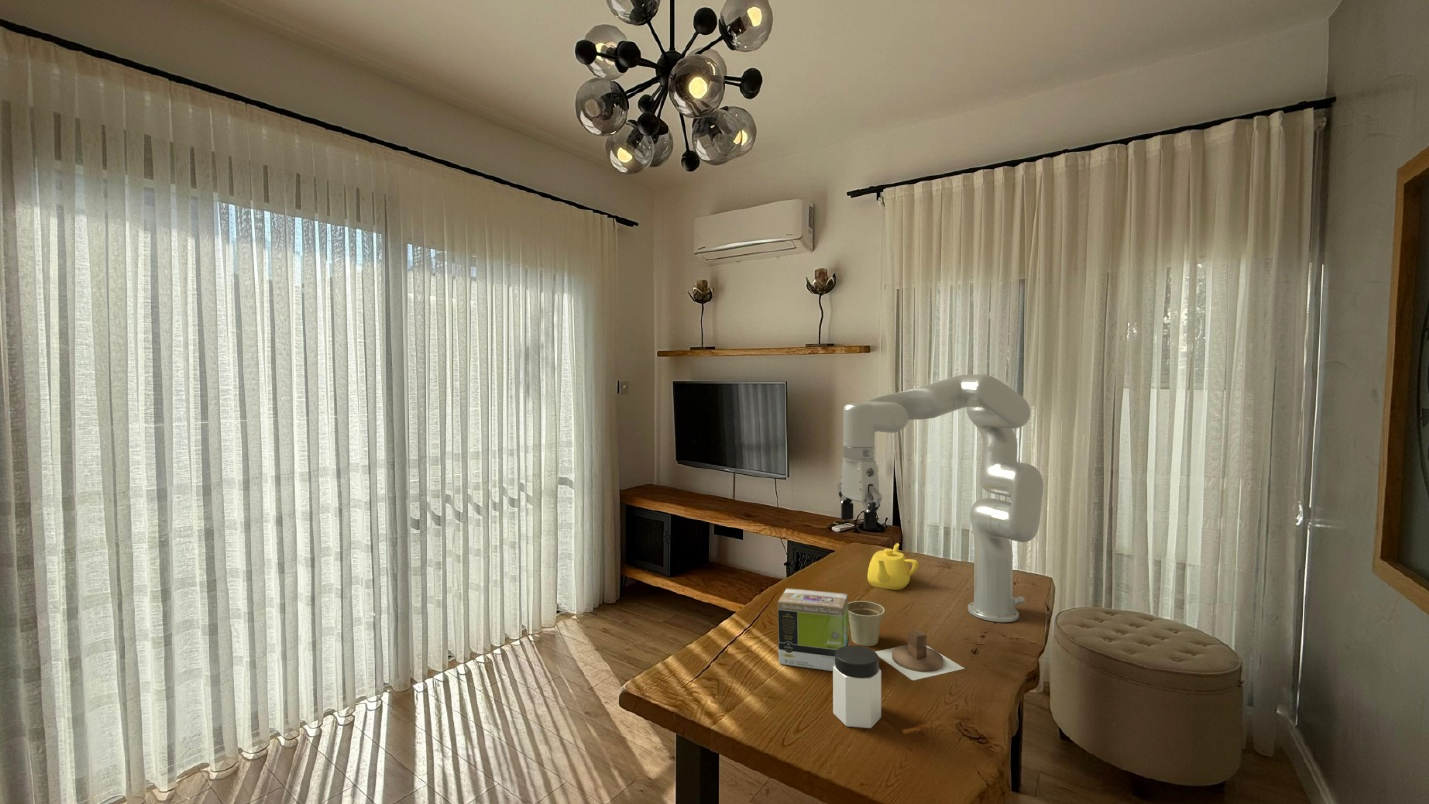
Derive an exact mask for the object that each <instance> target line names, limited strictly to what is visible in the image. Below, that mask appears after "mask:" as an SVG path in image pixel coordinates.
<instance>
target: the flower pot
mask: <svg viewBox="0 0 1429 804" xmlns="http://www.w3.org/2000/svg"><path fill="white" fill-rule="evenodd" d="M885 611H886V609H885V608H884V606H883V605H881V604H879V603H876V602H873V601H868V600H853V601H850V602H848V618H849V630H850V636H851V641H852V642H853V643H854V644H855V645H857V646H863V647H873V646H876V645H877V644H878V643H879V635H880V632H881V631H880V630H881V624H882V623H881V622H882V619H883V616H884V614H885Z"/></svg>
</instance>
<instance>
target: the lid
mask: <svg viewBox="0 0 1429 804" xmlns="http://www.w3.org/2000/svg"><path fill="white" fill-rule="evenodd" d="M907 632H908V633H907V635H908V636H907V637H908V638H907V644H903V645H898V646H896V648H895V647H893V648H894V649H893V651H892V659H893V661H894V662H895V663H896V664H898V665H899V666H901V667H903V668H906V669H909V670H913V671H918V672H932V671H936V670H939V669H941V668H942V666H943V657H942V656H941V653H940V652H938V651H936V650H935V649H933V648H932V649H930V648H931V647H930V648H927V646H928V645H927V642H928V639H927V638H928V637H927V634H926V633H925V632H922V631H921V630H920V629H917V630H910V631H907ZM939 653H940V654H939Z"/></svg>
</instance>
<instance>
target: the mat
mask: <svg viewBox="0 0 1429 804" xmlns="http://www.w3.org/2000/svg"><path fill="white" fill-rule="evenodd" d="M896 647H897V646H896ZM896 647H891V648H886V649H881V650H877V651H876V650H875V652H876V653H877V655H878V657H879V659H882V660H883V661H884V662H886V663H887V664H889V665H890V666H892V668H895V669H896V670H897V671H898V672H900V673H901V674H902V675H904V676H905V677H907V678H908V679H909V680H911V681H918V680H922V679H926V678H930V677H935V676H939V675H943V674H947V673H951V672H956V671H960V670H965V667H963V666H961V665H960V664H958V663H957V662H955V661H952V659H950V658H949V657H946V656H945V655H943V654H941V653H940V652H938V653H939V654H941V656H942V657H943V666H942V668H941V669H939V670H936V671H932V672H918V671H913V670H909V669H906V668H903V667H901V666H899V665H898V664H896V663H895V662H894V661H893V659H892V651H893V649H894V648H896ZM927 648H930V649H933V648H932V647H930V646H928V645H927Z"/></svg>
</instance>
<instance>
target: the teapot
mask: <svg viewBox="0 0 1429 804" xmlns="http://www.w3.org/2000/svg"><path fill="white" fill-rule="evenodd" d="M899 547H900V544H899V543H898V542H897V543H895V544H894V546H893V549H891V548H884V549H883V550H877V551H876V552H875V553H874V554H873V555H872V557H871V559H870V561H869V566H868V568H867V576H866V577H867V581H868V583H869V585H870V586H872V587H873V588H874V587H876V588H879V589H883V590H891V591H900V590H902V589H904V588H906V587H907V586H908V585H909V583H910V580H911V576H912V575H913V574H914V573H915V572H916V571H917V570H918V568H919V561H918V560H916V559H912V558H911V559H910V558H909V559H908V558H906V556H905V554H904V553H902V552H899ZM908 563H909V564H911V565H912V566H911V568H909V564H908Z"/></svg>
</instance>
